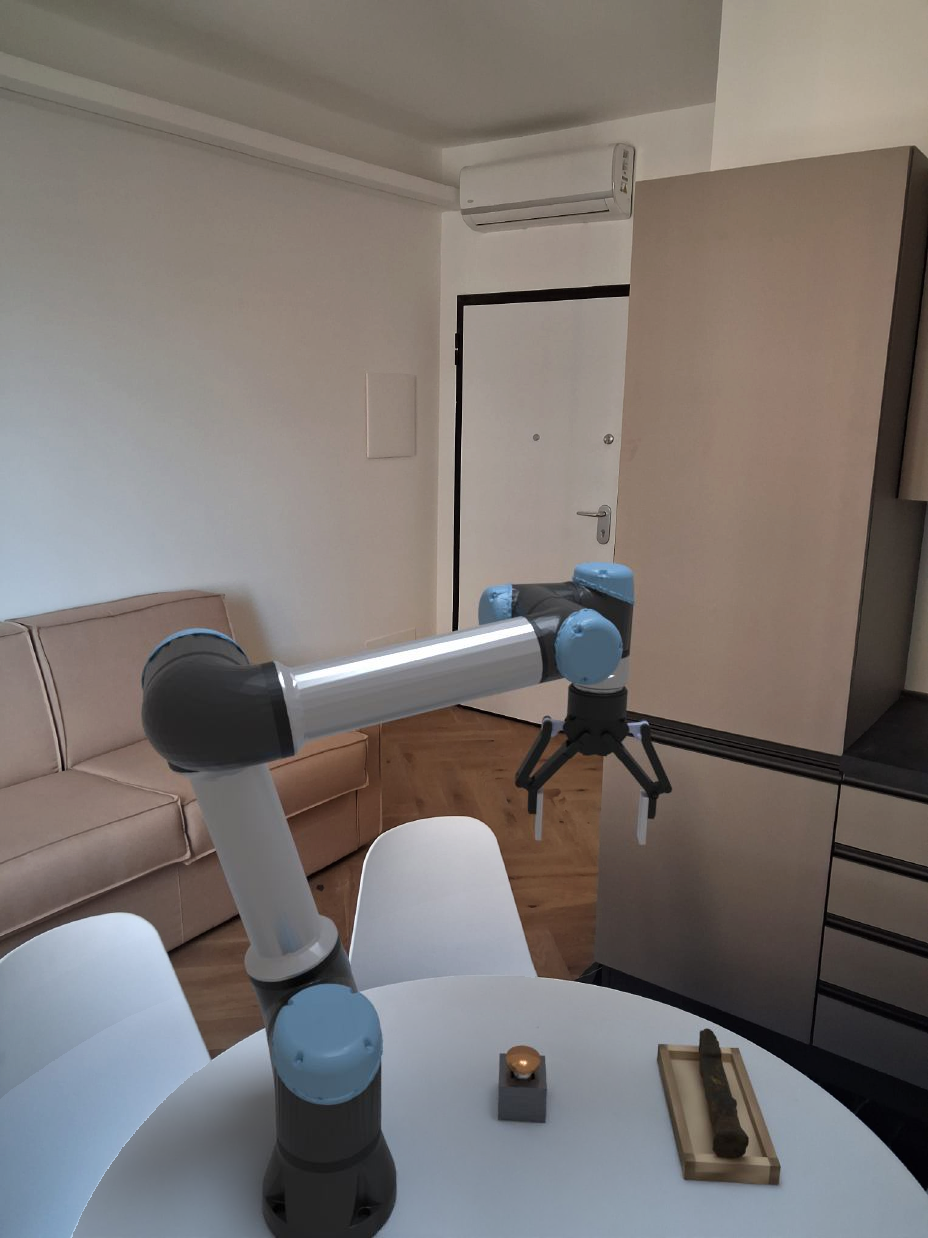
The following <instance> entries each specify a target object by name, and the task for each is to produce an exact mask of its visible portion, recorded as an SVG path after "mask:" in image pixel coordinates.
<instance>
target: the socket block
mask: <svg viewBox="0 0 928 1238" xmlns="http://www.w3.org/2000/svg"><path fill="white" fill-rule="evenodd" d="M506 1054H507V1053H502V1052H501V1053H499V1063H498V1064H499V1065H498V1091H497V1092H498V1095H497V1101H498V1102H497V1107H498V1108H497V1121H507V1122H523V1123H524V1122H525V1123H526V1122H527V1123H528V1122H529V1123H543V1124H544V1123H546V1117H547V1115H546V1113H547V1096H548V1086H547V1083H548V1082H547V1066H546V1065H547V1064H546V1062H547V1061H546V1055H544V1054H543V1055H541V1054H539V1055H540V1067H539V1069H538V1070H537V1071H536V1072H534V1073H532V1080H530V1079H513V1072H512V1071H511V1070H510V1069H509V1068H508V1067H507V1065H506Z"/></svg>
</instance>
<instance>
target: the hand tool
mask: <svg viewBox="0 0 928 1238" xmlns="http://www.w3.org/2000/svg"><path fill="white" fill-rule="evenodd" d="M698 1042H699V1043H698V1046H699V1053H700V1058H699V1064H700V1065H699V1069H700V1070H699V1072H700V1075H701V1077H702V1078H703V1085H704V1089H705V1096H706V1099H707V1103H708V1108H709V1110H708V1111H709V1116H710V1121H711V1124H712V1127H713V1131H714V1135H715V1136H714V1139H713V1148H712V1150H713V1151H714V1152H715V1154H716V1155H717V1156H718V1157H725V1158H738V1157H742V1156H743V1155H744V1154H745V1153H746V1148H747V1146H748V1144H749V1137H748V1136H747V1134H746V1133H745V1131H744V1130H743V1129H742V1128H741V1126H740V1122H739V1118H738V1115H737V1114H738V1113H737V1109H736V1107H737V1102H736V1100H735V1099H734V1098H733V1097H732V1094H731V1091H730V1087H729V1083H728V1081H727V1077H726V1074H725V1070H724V1067H723V1063H722V1059H721V1057H722V1052H721V1049H720V1047H721V1046H720V1042H719V1040H718V1038H717V1036H716V1035H715V1033H714V1031H713V1030H712V1029H710V1028H704V1029H703V1030H699V1040H698Z"/></svg>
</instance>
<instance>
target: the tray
mask: <svg viewBox="0 0 928 1238" xmlns="http://www.w3.org/2000/svg"><path fill="white" fill-rule="evenodd" d="M719 1047H720V1049H721V1052H722V1057H721V1059H722V1063H723V1067H724V1070H725V1074H726V1077H727V1081H728V1083H729V1087H730V1091H731V1094H732V1097H733V1098H734V1099H735V1100H736V1102H737V1107H736V1109H737V1113H738V1114H737V1115H738V1118H739V1122H740V1126H741V1128H742V1129H743V1130H744V1131H745V1133H746V1134H747V1136H748V1137H749V1144H748V1146H747V1148H746V1153H745V1154H744V1155H743V1156H742V1157H738V1158H725V1157H718V1156H717V1155H716V1154H715V1152H714V1151H713V1150H712V1148H713V1139H714V1136H715V1135H714V1131H713V1127H712V1124H711V1121H710V1116H709V1111H708V1110H709V1108H708V1103H707V1099H706V1096H705V1089H704V1085H703V1078H702V1077H701V1075H700V1072H699V1070H700V1069H699V1065H700V1064H699V1058H700V1053H699V1045H690V1044H689V1045H686V1044H683V1045H682V1044H670V1043H669V1044H667V1043H658V1044H657V1054H656V1055H657V1056H656V1061H657V1066H658V1070H659V1074H660V1075H659V1077H660V1078H661V1083H662V1089H663V1093H664V1097H665V1102H666V1106H667V1110H668V1115H669V1119H670V1123H671V1129H672V1133H673V1137H674V1141H675V1145H676V1150H677V1156H678V1159H679V1164H680V1168H681V1172H682V1176H683V1180H685V1181H686V1180H687V1181H688V1180H689V1181H690V1180H691V1181H703V1182H704V1181H707V1182H719V1183H720V1182H724V1183H739V1184H740V1183H742V1184H755V1185H772V1186H773V1185H774V1186H775V1185H776V1186H779V1185H780V1176H781V1170H782V1169H781V1168H782V1166H781V1163H780V1159H779V1158H778V1155H777V1152H776V1149H775V1146H774V1143H773V1141H772V1138H771V1135H770V1133H769V1130H768V1126H767V1123H766V1120H765V1118H764V1116H763V1113H762V1109H761V1107H760V1104H759V1102H758V1099H757V1096H756V1092H755V1091H754V1088H753V1084H752V1081H751V1078H750V1076H749V1073H748V1071H747V1068H746V1065H745V1062H744V1059H743V1056H742V1053H741V1051H740V1047H726V1046H719Z"/></svg>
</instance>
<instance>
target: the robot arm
mask: <svg viewBox="0 0 928 1238" xmlns="http://www.w3.org/2000/svg"><path fill="white" fill-rule="evenodd" d="M635 604H636V601H635V576H634V572H633V570H632V569H631V568H629V567H628V566H626V565H624V564H620V563H614V562H604V561H589V562H585V563H584V562H583V563H580V564H579V563H578V564H577V565H576V566H575V568H574V569H573V575H572V577H571V580H569V581H563V582H545V583H544V582H543V583H541V582H540V583H538V582H537V583H512V582H508V584H502V585H501V584H500V585H492V586H489V587H487V588H485V589H484V590H483V592H482V594H481V595H480V598H479V601H478V609H477V612H478V614H477V618H478V625H476V626H472V627H467V628H462V629H457V630H454V631H449V632H445V633H444V632H443V633H440V634H435V635H431V636H426V637H422V638H418V639H413V640H409V641H408V640H407V641H404V642H401V643H400V642H399V643H396V644H391V645H387V646H381V647H377V648H373V649H368V650H364V651H359V652H356V653H350V654H346V655H343V656H337V657H332V658H328V659H325V660H320V661H315V662H310V663H307V664H302V665H296V666H293V667H289V666H287V665H285V664H283V663H281V662H279V661H278V660H272V661H271V660H270V661H268V662H264V663H258V664H250V659H249V658H248V655H247V653H246V652H245V651H244V650H243V648H242V646H240V645H238V644H237V642H235V641H234V639H232V638H231V637H230V636H228V635H226V634H224V633H222V632H219V631H217V630H214V629H209V628H202V627H201V628H200V627H196V628H186V629H183V630H180V631H177V632H174V633H172V634H170V635H168V636H167V637H166V638H164V639H163V640H162V641H160V642H159V643H158V644H157V645H156V647H155V648H154V649H153V650H152V652H151V653H150V655H149V657H148V658H147V660H146V662H145V665H144V666H143V668H142V673H141V683H140V684H141V690H142V703H141V711H140V715H141V716H140V717H141V724H142V729H143V732H144V734H145V736H146V739H147V741H148V743H149V744H150V745H151V747H152V748H153V749H154V751H155V752H156V753H157V754H158V755H160V756H161V758H163V759H164V760H165V761H166V762H167V765H168V767H169V770H170V771H171V772H172V773H173V774H175V775H178V776H182V777H185V778H187V779H188V780H189V782H190V785H191V788H192V790H193V793H194V795H195V796H194V797H195V798H196V801H197V804H198V806H199V809H200V812H201V814H202V817H203V820H204V822H205V825H206V827H207V831H208V833H209V835H210V838H211V841H212V844H213V846H214V849H215V852H216V855H217V857H218V860H219V862H220V864H221V865H220V866H221V868H222V871H223V873H224V876H225V879H226V881H227V884H228V886H229V890H230V892H231V895H232V898H233V901H234V902H235V905H236V908H237V910H238V914H239V916H240V919H241V921H242V925H243V926H244V927H243V928H244V929H245V930H244V931H245V933H246V935H247V938H248V941H249V943H250V945H249V947H248V949H247V951H246V953H245V956H244V963H243V964H244V968H245V970H246V973H247V977H248V979H249V981H250V984H251V987H252V989H253V991H254V995H255V997H256V1000H257V1003H258V1005H259V1008H260V1009H259V1010H260V1012H261V1015H262V1018H263V1023H264V1029H265V1033H266V1034H265V1036H266V1041H267V1046H268V1047H267V1048H268V1053H269V1058H270V1064H271V1070H272V1076H273V1085H274V1100H275V1127H276V1128H275V1130H276V1141H275V1144H274V1147H273V1150H272V1152H271V1155H270V1159H269V1161H268V1164H267V1167H266V1170H265V1172H264V1175H263V1180H262V1189H261V1193H262V1195H261V1196H262V1211H263V1216H264V1220H265V1223H266V1224H267V1226H268V1228H269V1229H270V1231H271V1233H272V1234H273V1235H274V1236H275V1237H276V1238H372V1237H373V1236H375V1234H377V1233H378V1232H379V1231H380V1230H381V1229H382V1227H383V1226H385V1224H386V1223H387V1221H388V1219H389V1218H390V1216H391V1215H392V1212H393V1210H394V1207H395V1203H396V1199H397V1194H398V1193H397V1189H398V1188H397V1180H398V1179H397V1168H396V1164H395V1163H396V1162H395V1161H394V1158H393V1155H392V1153H391V1150H390V1148H389V1146H388V1145H389V1144H388V1143H387V1140H386V1138H385V1135H384V1133H383V1130H382V1056H383V1052H384V1051H383V1050H384V1044H383V1043H384V1038H383V1033H382V1027H381V1022H380V1018H379V1014H378V1012H377V1010H376V1008H375V1006H374V1004H373V1003H372V1001H371V1000H370V999H368V997H367V996H366V995H365V994H363V993H362V992H359V990H358V986H357V984H356V981H355V978H354V975H353V973H352V965H351V962H350V959H349V956H348V953H347V952H346V949H345V948H344V946H343V943H342V940H341V939H342V938H341V937H340V934H339V932H338V927H337V926H336V924H335V922H334V921H333V920H332V919H331V918H329V917H328V916H326V915H322V914H319V911H318V908H317V905H316V903H315V899H314V897H313V894H312V891H311V887H310V885H309V882H308V878H307V876H306V874H305V873H306V872H305V869H304V867H303V864H302V862H301V858H300V855H299V852H298V850H297V846H296V843H295V841H294V839H293V835H292V832H291V830H290V826H289V823H288V820H287V817H286V815H285V811H284V809H283V806H282V803H281V799H280V797H279V796H280V795H279V794H278V791H277V788H276V785H275V782H274V779H273V776H272V773H271V770H270V767H269V765H268V763H271V762H276V761H279V760H282V759H283V760H284V759H287V758H291V757H295V756H298V755H299V754H300V752H301V750H302V749H303V748H304V746H305V744H307V743H308V742H312V741H315V740H319V739H324V738H329V737H332V736H336V735H341V734H343V733H348V732H351V731H357V730H359V729H364V728H368V727H373V726H376V725H380V724H383V723H388V722H391V721H396V720H400V719H405V718H408V717H413V716H417V715H421V714H424V713H427V712H428V713H429V712H431V711H436V710H439V709H444V708H447V707H453V706H457V705H460V704H465V703H468V702H472V701H477V700H479V699H484V698H488V697H492V696H496V695H500V694H503V693H508V692H512V691H516V690H521V689H523V688H524V689H525V688H528V687H532V686H537V685H539V684H544V683H548V682H553V681H557V680H561V679H565V680H566V681H568V682H569V683H570V684H569V685H568V688H567V707H566V709H567V710H566V715H565V718H564V720H561V719H560V720H559V719H553V718H552V717H551V716H550V715H545V716H543V717H542V719H541V727H540V731H539V733H538V735H537V737H536V738H535V740H534V742H533V744H532V745H531V747H530V749H529V750H528V752H527V754H526V756H525V758H524V759H523V761H522V762H521V764H520V766H519V768H518V769H517V771H516V773H515V775H514V784H515V787H517V788H518V789H520V788H522V789H525V790H526V791H527V812H528V815H535V819H534V823H535V824H534V837H535V838H534V839H535V841H542V833H543V832H542V831H543V829H542V827H543V812H544V811H543V810H544V809H543V807H544V789H543V787H544V785H545V784H546V783H547V782H548V781H549V780H550V779H551V778H552V777H553V776H554V775H555V774H556V773H557V772H558V771H559V770H560V769H561V768H562V767H563V766H564V765H565V764H566V763H567V762H568V761H569V760H571V759H573V757H575V755H576V754H577V753H579V754H582V756H584V757H585V756H586V757H587V756H593V755H596V756H600V757H608V756H609V755H612V753H613V755H615V757H616V758H617V759H618V760H619V761H620V762H621V763H622V764H623V766H624V767H625V768H626V769H627V771H628V772H629V773H630V775H632V777H633V778H634V779H635V780H636V782H638V784H639V785H640V787H641V788H642V789H640V790H639V799H638V814H637V826H636V827H637V828H636V829H637V830H636V837H637V840H638V844H639V845H640V846H641V845H642V846H643V845H645V846H646V843H647V842H646V841H647V829H648V828H647V827H648V819H649V820H654V819H655V817H656V815H657V814H656V813H657V803H658V802H657V801H658V799H659V796H660V795H661V794H668V795H669V794H671V792H672V791H673V786H672V784H671V782H670V780H669V778H668V776H667V773H666V771H665V769H664V766H663V764H662V762H661V759H660V758H659V755H658V753H657V752H656V749H655V746H654V744H653V741H652V729H651V727H650V724H649V722H648V720H646V719H644V718H641V719H640V720H639V721H638V722H628V721H627V707H628V693H629V692H628V691H629V690H628V689H627V687H626V686H627V685H628V683H629V676H630V672H629V671H630V659H631V657H630V656H631V655H630V654H631V646H632V645H631V643H632V642H631V641H632V630H633V616H634V615H633V613H634V605H635ZM560 731H563V734H564V735H565V736H566V739H565V740H564V741H563V743H561V745H560V747H559V748H558V749H557V750H556V751H554V753H553V754H552V755H551V756H550V757H549V758H548V759H547V760H546V761H545V762H544V763H543V764H542V765H541V766H540V767H539V768H538V769H537V770H536V771H535V772H534V773H533V771H534V769H535V767H536V766H537V764H538V762H539V760H540V759H541V757H542V755H543V754H544V752H545V750H546V749H547V747H548V745H549V743H550V741H551V738H553V737H556V736H557V735H558V733H559V732H560ZM629 734H632V735H633V737H634V738H635V739H636V740H638V741H640V742H641V745H642V748H643V750H644V751H645V754H646V757H647V758H648V761H649V763H650V764H651V767H652V769H653V771H654V774H655V776H656V778H657V780H656V781H653V780H652V779H651V777H650V776H649V775H648V774H647V773H646V771H645V770H644V769H643V767H641V766H640V764H639V763H638V761H636V759H635V758H634V757H633V756H632V754H631V753H630V752H629V750H628V749H627V747H625V745H624V744H623V741H624V740H625V739H626V738H627V736H628V735H629ZM532 773H533V774H532ZM531 774H532V775H531Z"/></svg>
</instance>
